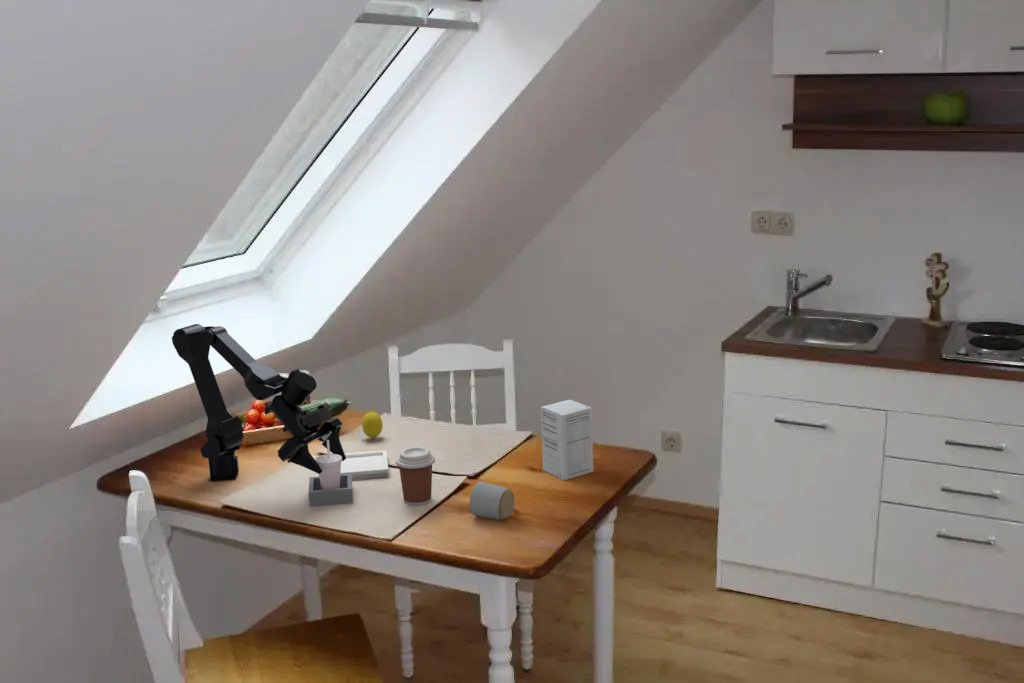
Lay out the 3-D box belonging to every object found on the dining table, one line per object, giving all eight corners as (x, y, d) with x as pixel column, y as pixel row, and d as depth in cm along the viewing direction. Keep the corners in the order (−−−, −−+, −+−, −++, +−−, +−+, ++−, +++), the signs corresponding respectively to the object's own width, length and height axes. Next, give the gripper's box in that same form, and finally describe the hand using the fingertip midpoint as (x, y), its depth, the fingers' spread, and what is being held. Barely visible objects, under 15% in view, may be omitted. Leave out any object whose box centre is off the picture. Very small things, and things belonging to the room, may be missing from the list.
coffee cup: (435, 491, 252) (432, 443, 249) (439, 505, 243) (436, 456, 240) (396, 494, 251) (393, 447, 248) (399, 509, 242) (396, 460, 239)
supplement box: (572, 461, 268) (570, 398, 264) (594, 472, 261) (593, 406, 257) (541, 470, 263) (539, 405, 259) (563, 481, 256) (562, 414, 252)
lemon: (359, 441, 289) (357, 413, 287) (369, 434, 294) (367, 407, 292) (377, 443, 287) (375, 415, 285) (386, 436, 292) (385, 409, 290)
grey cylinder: (501, 526, 231) (501, 493, 229) (469, 520, 235) (468, 487, 233) (523, 509, 240) (522, 477, 239) (491, 503, 244) (490, 472, 242)
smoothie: (348, 491, 254) (343, 436, 250) (341, 502, 247) (336, 445, 244) (322, 491, 254) (317, 436, 251) (314, 501, 248) (309, 445, 245)
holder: (309, 506, 245) (308, 492, 244) (310, 490, 255) (309, 477, 254) (352, 502, 247) (351, 488, 246) (352, 487, 256) (351, 473, 255)
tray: (331, 481, 260) (331, 473, 260) (332, 462, 274) (331, 454, 273) (388, 476, 262) (388, 469, 262) (386, 457, 276) (386, 450, 275)
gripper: (283, 406, 239) (326, 459, 236) (333, 385, 255) (374, 434, 252) (259, 435, 244) (301, 487, 242) (309, 412, 260) (349, 460, 258)
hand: (333, 466), depth 248 cm, fingers open, 9 cm apart
